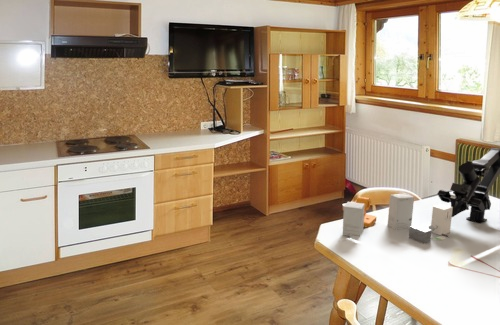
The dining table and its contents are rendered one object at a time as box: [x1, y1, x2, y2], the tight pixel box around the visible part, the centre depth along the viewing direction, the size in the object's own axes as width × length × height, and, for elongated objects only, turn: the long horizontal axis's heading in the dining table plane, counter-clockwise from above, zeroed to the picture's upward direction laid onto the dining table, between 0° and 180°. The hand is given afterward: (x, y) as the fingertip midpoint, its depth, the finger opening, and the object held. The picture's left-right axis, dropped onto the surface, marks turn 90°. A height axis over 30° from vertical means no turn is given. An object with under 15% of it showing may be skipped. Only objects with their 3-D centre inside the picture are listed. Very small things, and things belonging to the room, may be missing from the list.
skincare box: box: [387, 193, 415, 230], centre depth 188 cm, size 8×6×15 cm
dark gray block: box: [408, 224, 432, 245], centre depth 175 cm, size 4×7×5 cm, turn 34°
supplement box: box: [342, 201, 365, 237], centre depth 183 cm, size 7×7×13 cm
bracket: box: [355, 196, 377, 228], centre depth 194 cm, size 11×7×12 cm, turn 147°
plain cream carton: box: [428, 203, 453, 238], centre depth 180 cm, size 10×8×11 cm
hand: (450, 216), depth 186 cm, fingers closed
